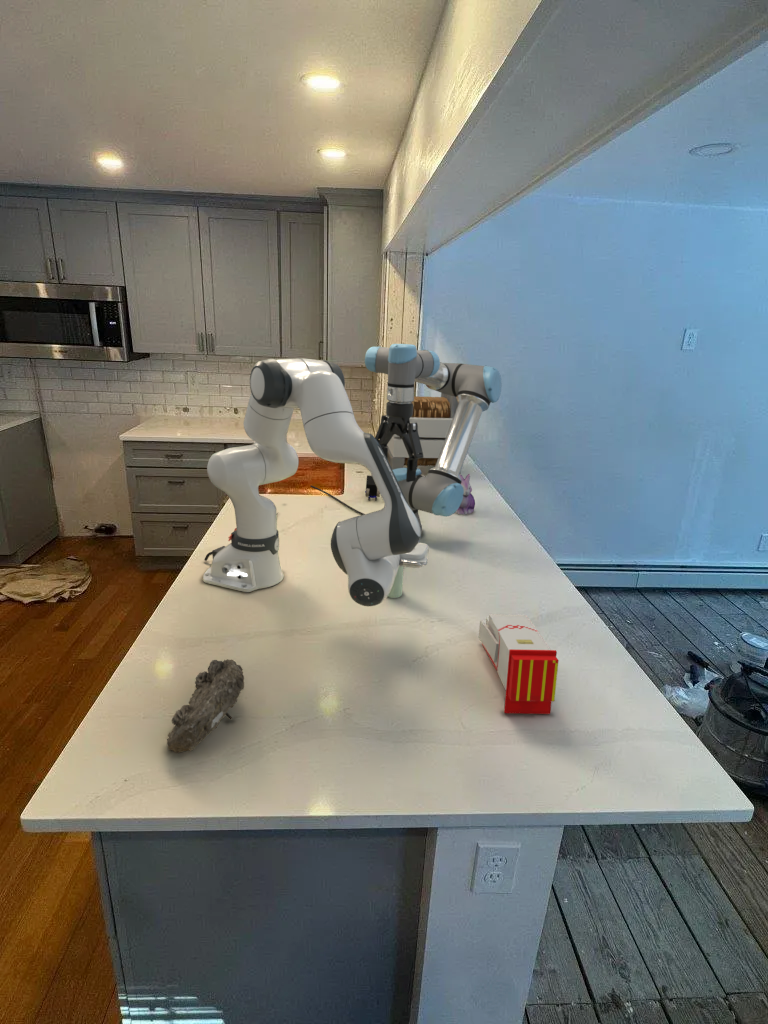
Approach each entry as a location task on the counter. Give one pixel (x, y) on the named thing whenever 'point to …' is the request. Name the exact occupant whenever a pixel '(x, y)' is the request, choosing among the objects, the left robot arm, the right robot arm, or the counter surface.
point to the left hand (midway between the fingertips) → (389, 538)
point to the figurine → (466, 497)
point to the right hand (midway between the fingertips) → (396, 475)
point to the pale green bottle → (397, 584)
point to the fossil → (206, 705)
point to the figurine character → (371, 489)
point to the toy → (521, 662)
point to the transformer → (425, 430)
